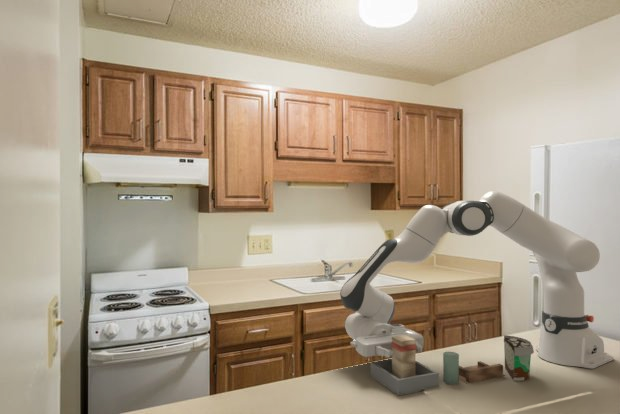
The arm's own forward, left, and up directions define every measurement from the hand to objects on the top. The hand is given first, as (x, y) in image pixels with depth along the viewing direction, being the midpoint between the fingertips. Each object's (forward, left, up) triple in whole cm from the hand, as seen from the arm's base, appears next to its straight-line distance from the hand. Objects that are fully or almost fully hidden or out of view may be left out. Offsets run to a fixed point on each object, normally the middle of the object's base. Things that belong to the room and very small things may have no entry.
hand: (405, 352), depth 115 cm
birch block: (0, -1, -7) cm, 8 cm away
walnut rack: (-21, +3, -8) cm, 23 cm away
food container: (-32, +9, -8) cm, 34 cm away
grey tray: (0, -1, -8) cm, 8 cm away
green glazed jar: (-11, +5, -8) cm, 15 cm away
